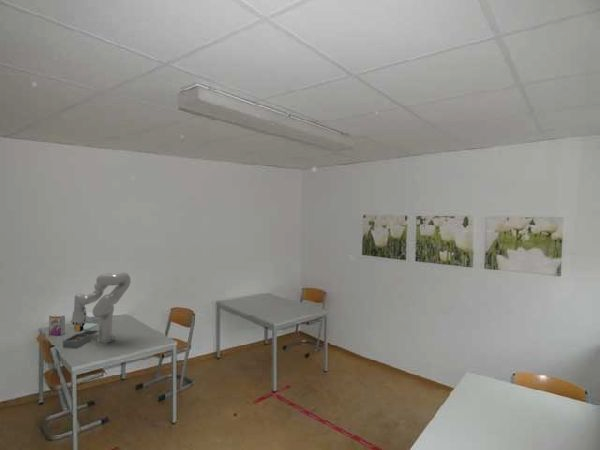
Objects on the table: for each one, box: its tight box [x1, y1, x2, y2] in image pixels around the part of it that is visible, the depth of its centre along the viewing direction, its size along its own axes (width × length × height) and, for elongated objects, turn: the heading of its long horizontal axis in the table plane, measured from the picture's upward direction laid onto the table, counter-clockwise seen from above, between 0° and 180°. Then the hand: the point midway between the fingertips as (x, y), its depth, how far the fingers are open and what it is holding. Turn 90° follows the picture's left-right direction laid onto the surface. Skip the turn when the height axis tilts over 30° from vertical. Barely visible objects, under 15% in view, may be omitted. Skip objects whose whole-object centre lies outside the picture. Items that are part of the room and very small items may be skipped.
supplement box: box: [84, 311, 100, 324], centre depth 336 cm, size 17×13×9 cm
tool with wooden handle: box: [74, 323, 99, 333], centre depth 306 cm, size 21×10×7 cm, turn 177°
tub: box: [62, 333, 91, 349], centre depth 283 cm, size 16×11×6 cm
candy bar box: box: [48, 314, 66, 336], centre depth 305 cm, size 11×5×16 cm, turn 84°
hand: (78, 330), depth 298 cm, fingers closed on tool with wooden handle, 4 cm apart
